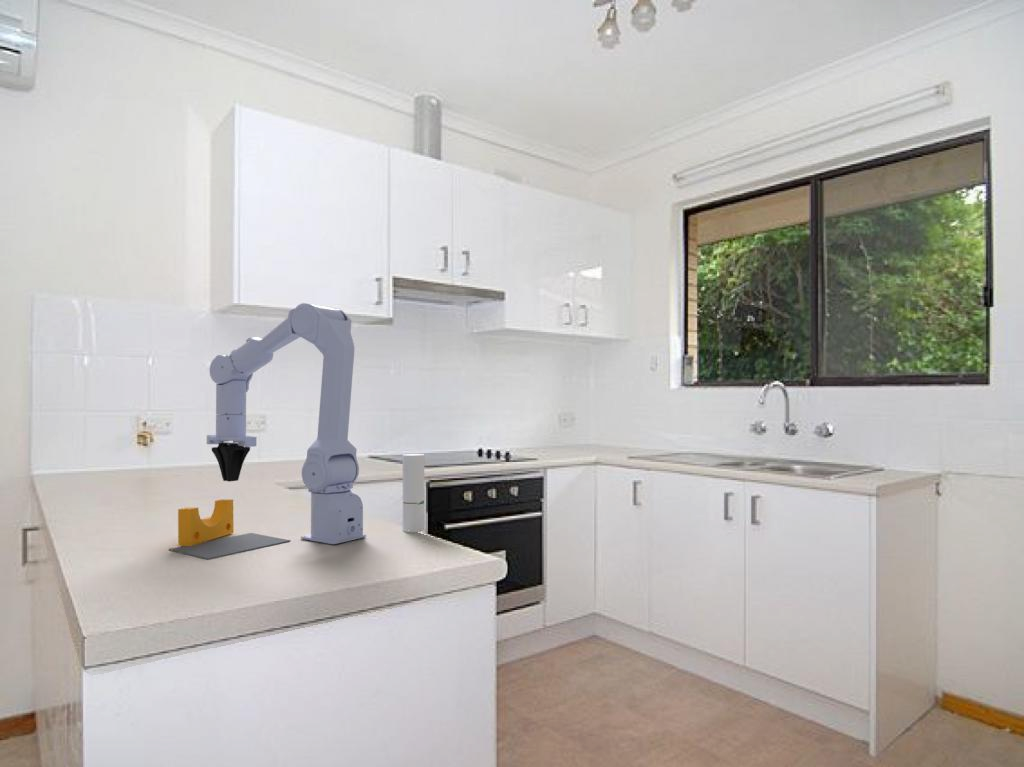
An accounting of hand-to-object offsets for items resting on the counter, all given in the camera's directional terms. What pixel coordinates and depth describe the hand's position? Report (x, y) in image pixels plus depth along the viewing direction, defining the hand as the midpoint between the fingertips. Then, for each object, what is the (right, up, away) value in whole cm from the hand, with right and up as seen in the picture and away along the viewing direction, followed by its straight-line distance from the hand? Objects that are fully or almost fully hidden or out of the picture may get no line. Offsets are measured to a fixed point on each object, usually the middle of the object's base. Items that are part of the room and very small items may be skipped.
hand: (230, 480), depth 133 cm
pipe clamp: (0, -9, -12) cm, 15 cm away
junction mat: (+8, -9, -17) cm, 21 cm away
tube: (+38, -9, -4) cm, 40 cm away
